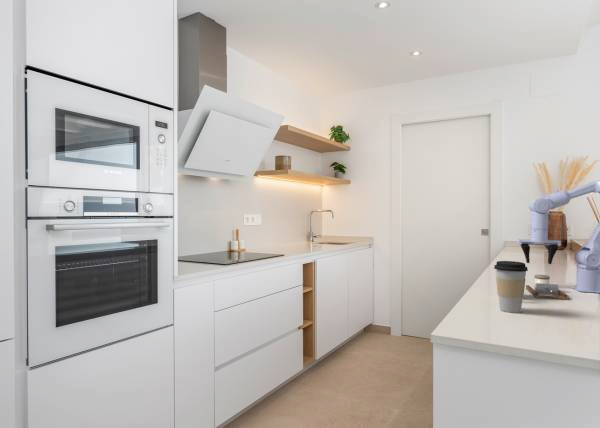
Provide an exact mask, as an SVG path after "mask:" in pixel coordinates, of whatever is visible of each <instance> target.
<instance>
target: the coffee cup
mask: <svg viewBox="0 0 600 428" xmlns="http://www.w3.org/2000/svg"><path fill="white" fill-rule="evenodd" d="M493 269H494V270H495V269H496V271H497V283H496V288H497V287H498V292H497V296H498V295H499V297H498V300H499V310H500V311H502V312H504V311H505V313H509V312H510V314H511V313H513V314H519V313H521V312H522V306H523V298H524V293H525V289H526V273H527V272H528V271H529V270H528V267H527V266H526V263H525V262H522V261H513V260H498V261H496V263H495V265H494V267H493Z"/></svg>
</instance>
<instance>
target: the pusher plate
mask: <svg viewBox="0 0 600 428" xmlns="http://www.w3.org/2000/svg"><path fill="white" fill-rule="evenodd" d="M558 289H559V284H556V283H555V284H554V283H549V284H541V283H536V292H538V295H545V296H559V295H558Z"/></svg>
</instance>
